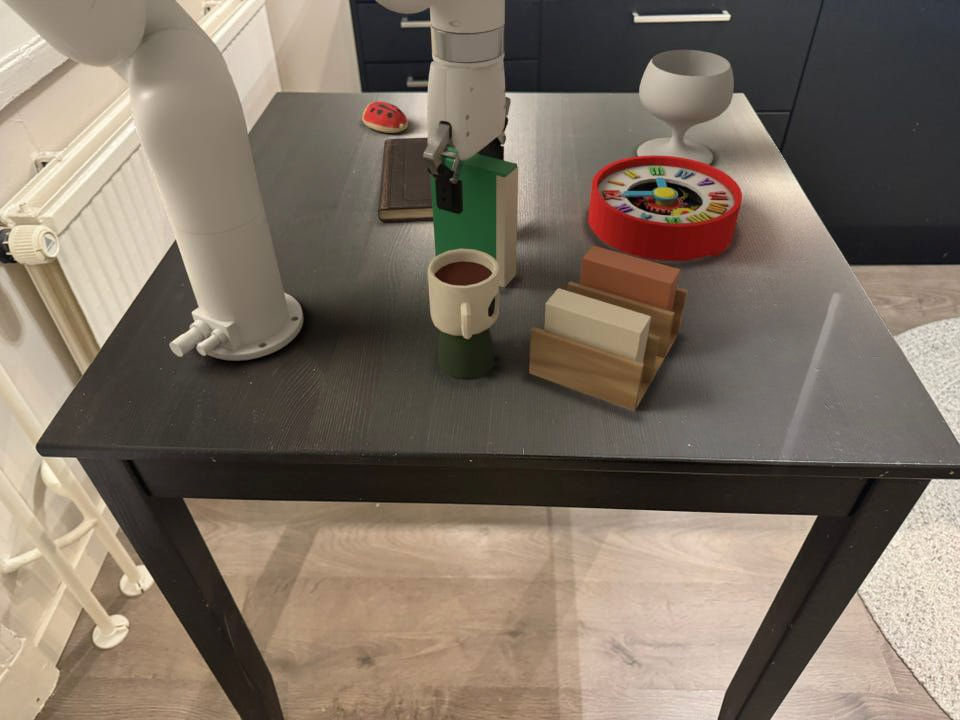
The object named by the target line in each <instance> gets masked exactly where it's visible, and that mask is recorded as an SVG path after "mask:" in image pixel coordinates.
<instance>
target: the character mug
mask: <svg viewBox="0 0 960 720" xmlns="http://www.w3.org/2000/svg"><path fill="white" fill-rule="evenodd" d="M427 282H428V283H427V284H428V296H429V297H428V298H429V311H430V318H431V321H432V323H433V325H434V327H436V328H437V329H438V330H439V331H440V332H439V339H438V351H437V352H438V353H437V354H438V355H437V361H438V367H439V368H440V370H441V372H443V374H445V375H447V376H449V377H453V378H457V379H467V380H469V379H477V378H480V377H483V376H484V375H486V374H487V373H489V372H491V370H492V368H493V367H494V366H495V356H494V346H493V339H492V334H491V326H493V325H494V324H495V323H496V321H498V320H497V319H498V318H499V315H500V313H499V312H500V286H499V265H498V263H497V261H496V260H495V259H494V258H493V257H492V256H490V255H488V254H487V253H484V252H481V251H478V250H473V249H456V250H450V251H447V252H444V253H442V254H440V255H437V256H436V255H435V257H433V259H432V260H430V262H429V265H428V267H427Z"/></svg>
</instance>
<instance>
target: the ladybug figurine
mask: <svg viewBox="0 0 960 720" xmlns="http://www.w3.org/2000/svg"><path fill="white" fill-rule="evenodd" d="M361 119H362V122H363V124H364V125H365V126H366V127H367V128H369V129H371V130H373V131H375V132H381V133H386V134H396V133H401V132H403V131H405V130H407V128H408V126H409V121H408V118H407V116H406V115H405V113H404V112H403V110H402V109H400V107H398V106H397V105H394V104H391V102H385V101H372V102H370V103H369V104H368V105H366V107H365V108H364V110H363V113H362V117H361Z"/></svg>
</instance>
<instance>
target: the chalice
mask: <svg viewBox="0 0 960 720" xmlns="http://www.w3.org/2000/svg"><path fill="white" fill-rule="evenodd" d="M734 87H735V80H734V72H733V69H732V66H731V63H730V62H729V60H728V59H726V58H724V57H723V56H721V55H719V54H716V53H712V52H709V51H708V52H707V51H703V50H695V49H674V50H668V51H667V50H666V51H662V52H660V53H658V54H655V55H654V56H653V57H652V58H651V59H650V61H649V62H648V64H647V66H646V67H645V70H644V72H643V75H642V77H641V80H640V84H639V90H638V95H639V99H640V102H641V105H642V106H643V107H644V110H646V111H647V112H648V113H649V114H651V116H653V117H655V118H657V119H659V120H661V121H662V122H664V123H666V124H667V125H668V127H669V128H670V130H671V137H658V138H654V139H650V140H647V141H645V142H643V143H641V144H640V145H639V146H638V148H637V149H636V154H637V155H636V156H650V155H659V156H673V157H681V158H686V159H691V160H695V161H698V162H702V163H705V164H707V165H711V164H712V163H713V160H714V154H713V153H712V152H711V150H710V149H709V148H708V147H706V146H705V145H703V144H701V143H699V142H697V141H695V140H691V139H687V138H686V139H685V137H684V136H685V134H686V133H687V132H688V130H689V129H690V128H693V127H695V126H696V125H700V124H704V123H706V122H710V121H712V120H715V119H716V118H718V117H720V116H721V115H722V114H723V113H724V112H726V111H727V109H728V108H729V106H730V105H731V104H732V100H733V97H734Z"/></svg>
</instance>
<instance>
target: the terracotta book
mask: <svg viewBox="0 0 960 720" xmlns="http://www.w3.org/2000/svg"><path fill="white" fill-rule="evenodd" d="M680 275H681V268H677V267H674V266H670V265H666V264H662V263H659V262H655V261H651V260H649V259H645V258H642V257H638V256H634V255H631V254H627V253H623V252H619V251H615V250H611V249H607V248H604V247H600V246H596V245H592V246H591V247H590V248H589V250H588V251H587V252H586V254H584V256H583V257H582V259H581V269H580V280H579V284H581V285H584V286H587V287H591V288H594V289H597V290H601V291H604V292H608V293H611V294H614V295H618V296H621V297H624V298H628V299H631V300H634V301H638V302H641V303H644V304H648V305H651V306H654V307H658V308H661V309H665V310H668V311H671V312H672V310H673V305H674V300H675V295H676V290H677V287H678V284H679V279H680Z"/></svg>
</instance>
